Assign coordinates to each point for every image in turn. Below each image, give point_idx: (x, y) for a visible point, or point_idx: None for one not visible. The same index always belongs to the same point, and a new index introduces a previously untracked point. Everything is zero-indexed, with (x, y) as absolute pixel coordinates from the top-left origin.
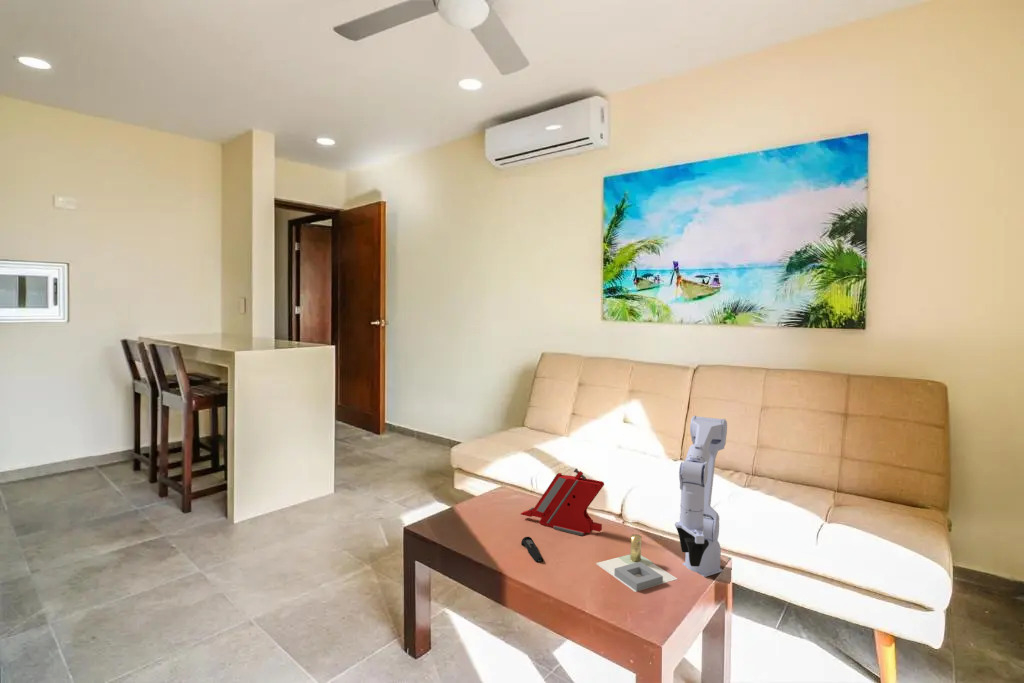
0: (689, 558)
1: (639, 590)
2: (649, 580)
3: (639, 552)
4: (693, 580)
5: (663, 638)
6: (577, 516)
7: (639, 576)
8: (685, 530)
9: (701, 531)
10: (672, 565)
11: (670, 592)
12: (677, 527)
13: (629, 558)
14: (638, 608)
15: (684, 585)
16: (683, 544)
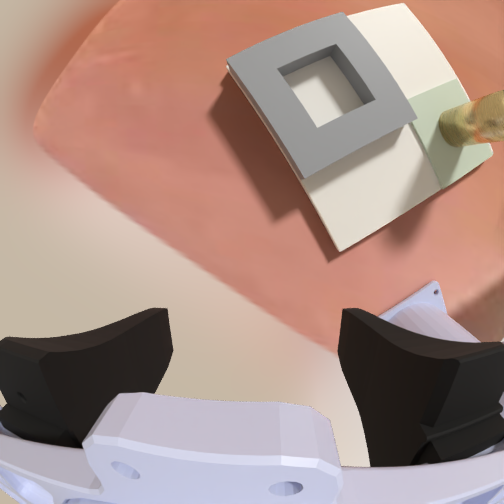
0: (137, 317)
1: (236, 81)
2: (263, 112)
3: (463, 130)
4: None
5: (39, 143)
6: None
7: (345, 102)
8: (49, 448)
9: None
10: (442, 261)
11: (261, 201)
12: (441, 370)
13: None
14: (151, 78)
15: (316, 268)
16: (359, 337)
